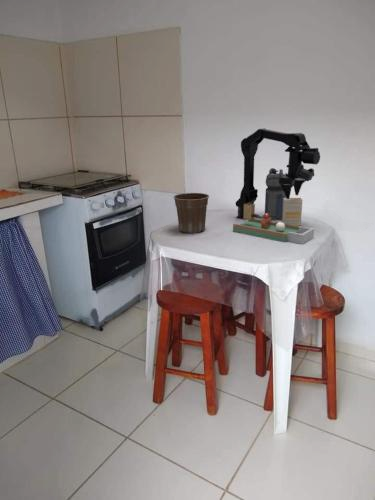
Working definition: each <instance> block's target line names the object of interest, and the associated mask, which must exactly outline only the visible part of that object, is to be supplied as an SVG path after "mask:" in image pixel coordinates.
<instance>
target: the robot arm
mask: <svg viewBox="0 0 375 500" xmlns="http://www.w3.org/2000/svg"><path fill="white" fill-rule="evenodd" d="M305 135H306V134H304V133H303V132H292V133H291V132H290V133H288V132H281V131H275V130H271V129H266V128H258V129H257V130H256V131H254V132H252V134H250V135H248V136H247V137H245V138H243V139H242V140H241V141H240V148H241V149H240V150H241V151H240V152H241V153H242V155H243V186H242V189H241V190H240V195H239V198H238V199H237V200H236V201H235V207H237V215H236V218H237V219H242V220H244V219H243V217H244V204H246V203H251V204H255V202H256V200H257V198H259V196H258V188H255V186H254V179H255V177H254V176H255V156H256V154H257V152H258V149H259V144H261V142H263V140H264V139H267V140H270V141H271V140H272V141H275V142H281V143H283V144H284V145H286V146H288V147H287V148H286V149H284V152H285V153H289V154H288V164H286V168H287V174H286V176H283V177H281V178H279V184H280V185H281V187H282V189H283V191H284V193H285V196H286V198H287V199H289V198H291V192H292V188H293V189H294V193H295V194H294V195H295V196H299V194H300V192H301V189H302V186H303V184H304V183H306V182H309V181H312V179H313V177H315V170H314V168H308V169H307V168H304V167H305V166H304V164H306V165H307V164H308V165H318V164H319V163H320V160H321V154H320V151H319V148H318V147H311V146H310V145H309V143H308V141H307V139H306V136H305Z"/></svg>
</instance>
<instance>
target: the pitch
mask: <svg viewBox="0 0 375 500" xmlns="http://www.w3.org/2000/svg"><path fill="white" fill-rule="evenodd" d="M261 220H262V219H261V218H255V217H254V219H253V220H246V221H245V222H242V223H240V224H238V223H233V225H232V232H234V233H239V234H243V235H244V234H245V235H248V236H252V237H253V236H254V237H259V238H262V239H269V240H273V241H279V242H283V243H287V242H289V243H294V244H298V245H299V244H300V245H303V244H305V243H307V242H308V241H309V242H310V241H311V240H312V239H313V238H314V233H315V228H311V227H308V226H307V227H306V226H295V225H289V224H284V225H285V229H284V230H283V231H278V230H277V229H276V224H277V223H279V222H277V221H272V220H271V226H270V227H268V228H266V229H263V228H261Z"/></svg>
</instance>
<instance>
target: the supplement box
mask: <svg viewBox="0 0 375 500" xmlns="http://www.w3.org/2000/svg"><path fill="white" fill-rule="evenodd" d="M302 212H303V199H302V198H301V197H290V198H289V199H287V198H283V216H282V219H281V222H282V223H284V224H289V225H295V226H301V225H302V216H303V215H302ZM301 227H302V226H301Z"/></svg>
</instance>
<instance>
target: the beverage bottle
mask: <svg viewBox="0 0 375 500" xmlns="http://www.w3.org/2000/svg"><path fill="white" fill-rule="evenodd" d="M278 172H279V173H278ZM286 174H288V172H285V173H284V171H283V169H279V170H277V169H276V168H272V167H271V168H270V169H269V172H268V173H267V175H266V179H265V185H266V188H265V195H264V196H265V198H264V214H265V213H268V214H269V217H271V220H272V219H278V220H282V216H283V198H286V196H285V193H284V191H283V189H282V187H281V185H280V184H279V178H281V177H283V176H286Z"/></svg>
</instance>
